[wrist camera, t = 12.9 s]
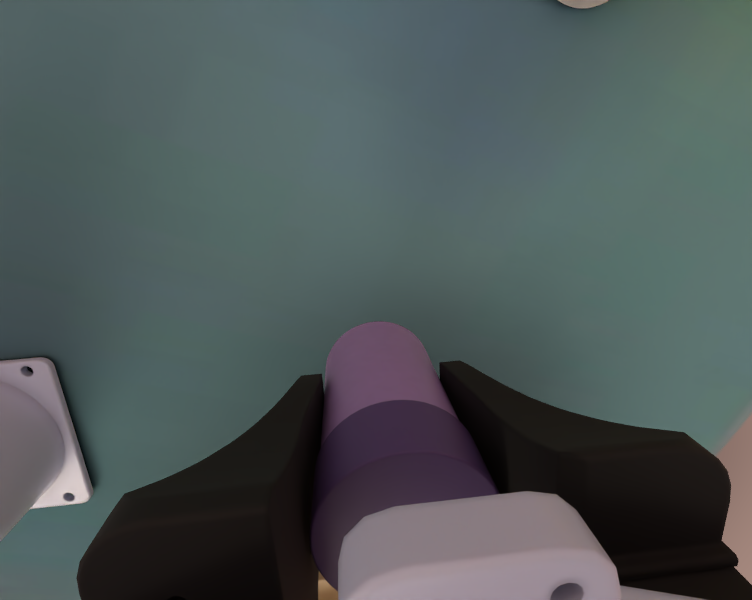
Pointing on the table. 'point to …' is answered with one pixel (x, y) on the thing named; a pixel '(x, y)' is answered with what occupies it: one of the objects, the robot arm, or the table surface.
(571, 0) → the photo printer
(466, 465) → the glue stick
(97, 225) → the table surface
